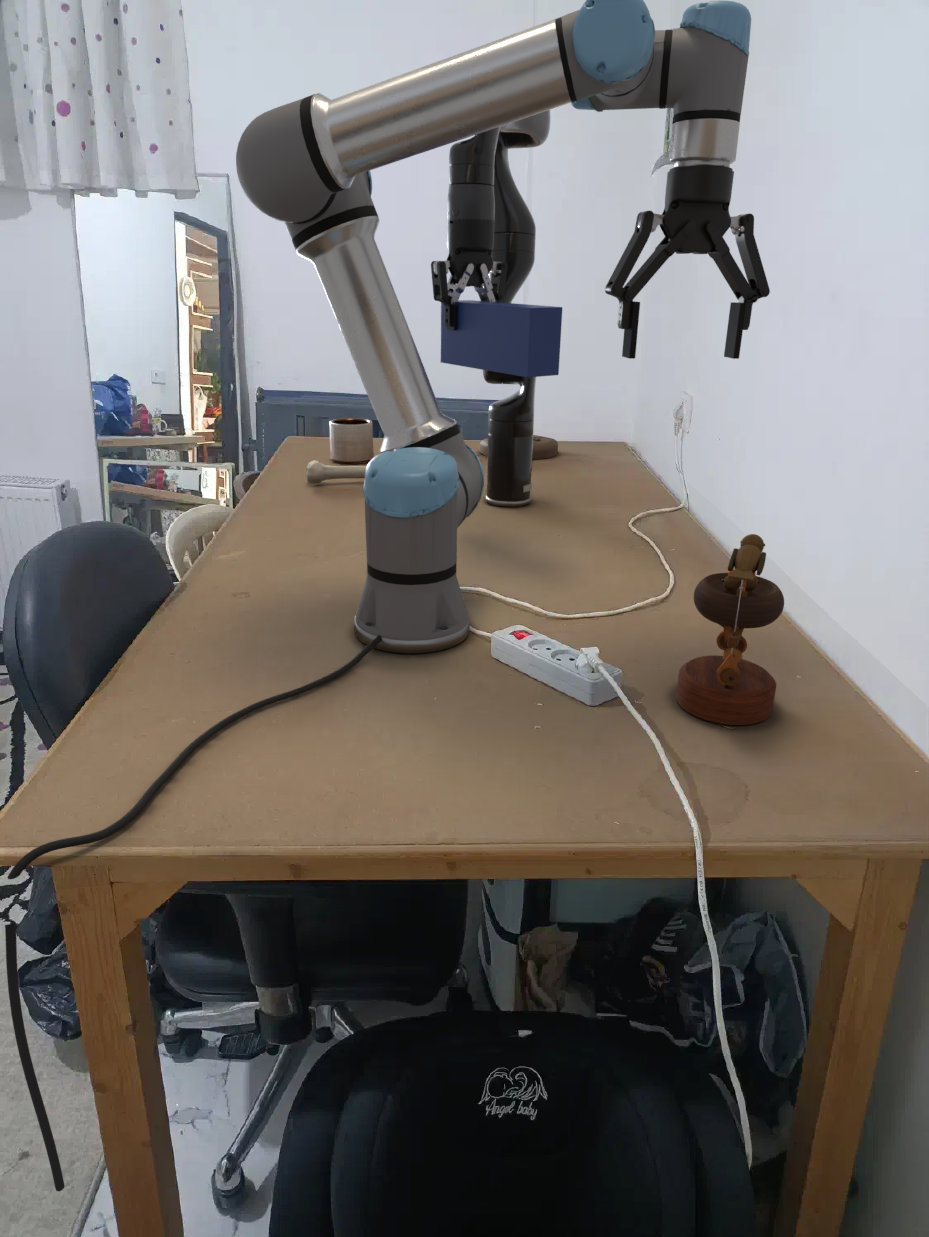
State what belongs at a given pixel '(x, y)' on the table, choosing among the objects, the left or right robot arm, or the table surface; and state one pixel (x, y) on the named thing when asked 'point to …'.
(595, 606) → the table surface
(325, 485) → the table surface
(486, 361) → the box
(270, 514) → the table surface
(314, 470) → the dog toy
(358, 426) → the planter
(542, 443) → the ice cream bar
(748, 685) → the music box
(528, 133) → the right robot arm
